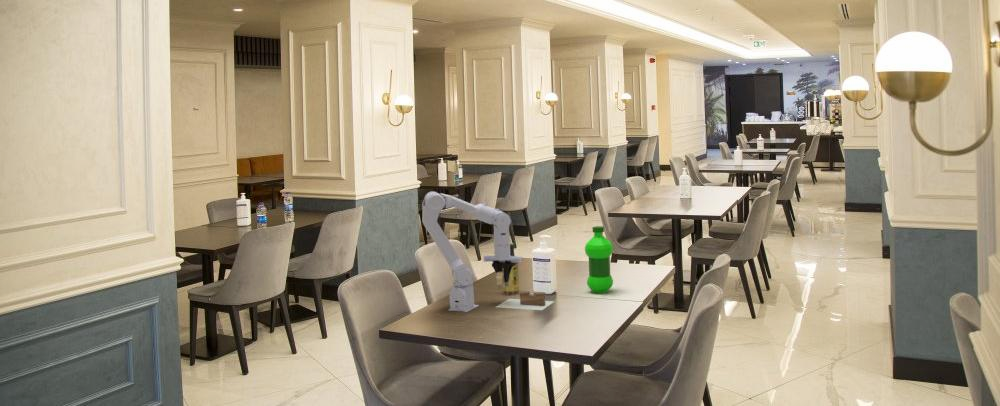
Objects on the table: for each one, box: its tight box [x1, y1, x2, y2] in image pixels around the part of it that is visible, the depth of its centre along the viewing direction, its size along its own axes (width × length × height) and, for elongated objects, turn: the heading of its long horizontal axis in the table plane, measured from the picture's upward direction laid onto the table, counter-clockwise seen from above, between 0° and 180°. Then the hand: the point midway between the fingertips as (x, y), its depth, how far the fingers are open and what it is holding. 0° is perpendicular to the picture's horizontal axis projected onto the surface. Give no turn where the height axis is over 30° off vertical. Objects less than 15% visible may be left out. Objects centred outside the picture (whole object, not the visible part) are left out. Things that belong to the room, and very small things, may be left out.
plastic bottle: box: [584, 225, 614, 294], centre depth 287 cm, size 10×10×25 cm
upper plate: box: [495, 270, 511, 291], centre depth 274 cm, size 8×2×6 cm, turn 156°
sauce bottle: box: [502, 242, 520, 296], centre depth 290 cm, size 7×6×20 cm
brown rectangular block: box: [519, 290, 546, 306], centre depth 271 cm, size 2×9×4 cm, turn 66°
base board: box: [495, 298, 556, 311], centre depth 272 cm, size 13×18×1 cm
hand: (503, 281), depth 274 cm, fingers closed on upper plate, 2 cm apart
